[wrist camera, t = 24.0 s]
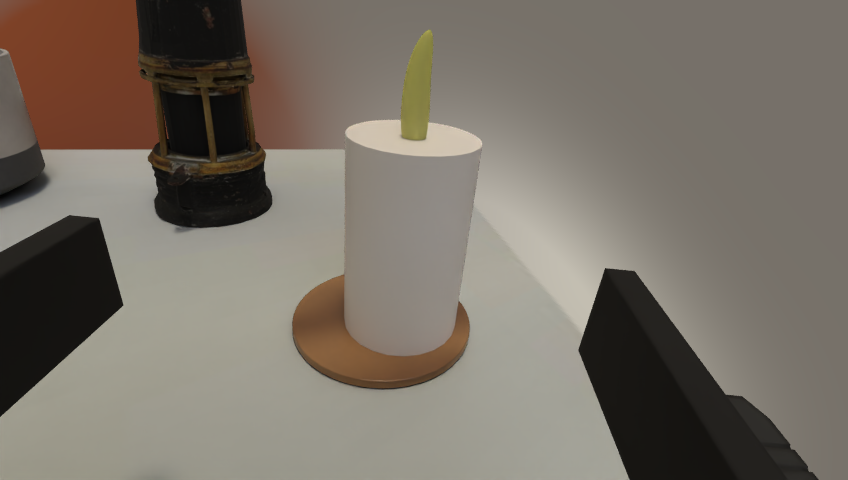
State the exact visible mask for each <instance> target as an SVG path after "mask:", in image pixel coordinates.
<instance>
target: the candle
mask: <svg viewBox="0 0 848 480" xmlns="http://www.w3.org/2000/svg"><path fill="white" fill-rule="evenodd" d="M432 55H433V36H432V32H431V30H427V31H426V32H425V33H424V34H423V35H422V36H421V37H420V39H419V40H418V42H417V44H416V46H415V48H414V50H413V53H412V55H411V58H410V61H409V64H408V68H407V71H406V76H405V80H404V88H403V95H402V106H401V120H377V121H367V122H362V123H358V124H355V125H352V126H350V127H348V129H347V130H346V131H345V272H344V319H345V326H346V329H347V330H348V332H349V334H350V336H351V337H352V338H353V339H355V340H356V341H357V342H358V343H359V344H360V345H362V346H364V347H366V348H368V349H370V350H372V351H375V352H378V353H382V354H386V355H392V356H413V355H421V354H424V353H427V352H430V351H433V350H435V349H437V348H438V347H440V346H442V345H443V344H445V342H446V341H447V340H448V339H449V338H450V337H451V336H452V333H453V330H454V327H455V321H456V314H457V308H458V301H459V295H460V288H461V282H462V275H463V268H464V262H465V255H466V249H467V242H468V236H469V229H470V222H471V216H472V209H473V203H474V195H475V189H476V183H477V176H478V170H479V163H480V157H481V150H482V142H481V140H480V139H479V138H478V137H476V136H475V135H473V134H471V133H469V132H467V131H464V130H461V129H458V128H455V127H450V126H446V125H441V124H436V123H429V110H430V87H431V69H432Z"/></svg>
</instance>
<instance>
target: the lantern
mask: <svg viewBox="0 0 848 480" xmlns="http://www.w3.org/2000/svg"><path fill="white" fill-rule="evenodd" d="M136 6H137V16H138V17H137V18H138V29H139V55H138V64H139V66H140V67H141V68H142V69H141V70H140V71H139V72H140V76H141V77H142V78H143V79H146V80H148V81H151V82H152V87H153V94H154V102H155V110H156V118H157V126H158V134H159V141H160V142H159V143H157V144H156V145H155V147H154V148H153V150H152V152H151V153H150V155H149V156H148V161H149V162H150V163H151V164H152V168H153V170H154V171H155V173H154V176H155V177H156V185H157V187H158V195H157V196H156V198H155V201H154V202H155V209H156V212H157V214H158V215H159V217H160V218H162V219H163V220H166V221H168V222H170V223H173V224H175V225H181V226H191V227H215V226H225V225H231V224H236V223H241V222H244V221H247V220H250V219H253V218H256V217H258V216H260V215H261V214H263V213H264V212H266V211H267V210H268V209H269V208H270V206H271V205H272V195H271V192H270V190H269V188H268V187H267V186H266V180H265V172H264V160H265V157H266V153H265V151H264V150H263V149H262V148H261V146H260V145H259V144H258V143H257V142H255V131H254V124H253V117H252V110H251V103H250V96H249V89H248V84H251V83H253V82H254V76H253V75H252V65H251V63H250V58H249V57H248V55H247V47H246V39H245V30H244V22H243V14H242V6H241V0H136ZM146 73H147V74H148V75H147V74H146ZM244 105H245V106H244ZM163 110H164V112H163ZM245 112H246V113H245ZM164 116H165V120H164ZM246 118H247V120H246ZM165 121H166V126H167V132H168V137H169V139H167V135H166V127H165ZM247 125H248V128H247ZM248 133H249V135H248Z"/></svg>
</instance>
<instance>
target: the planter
mask: <svg viewBox="0 0 848 480" xmlns="http://www.w3.org/2000/svg"><path fill="white" fill-rule="evenodd" d="M44 167H45V163H44V160H43V157H42V154H41V150H40V147H39V144H38V141H37V138H36V135H35V132H34V129H33V126H32V123H31V120H30V117H29V113H28V110H27V107H26V104H25V101H24V98H23V95H22V92H21V89H20V85H19V83H18V79H17V76H16V73H15V70H14V67H13V64H12V61H11V58H10V55H9V52H8V51H6V50H4V49H0V195H2V194H4V193H6V192H8V191H10V190H12V189H14V188H16V187H18V186H20V185H22V184H24V183H26V182H28V181H30V180H31V179H33V178H35V177H36V176H37V175H39V174H40V173H41V172H42V171H43V169H44Z"/></svg>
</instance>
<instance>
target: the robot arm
mask: <svg viewBox="0 0 848 480" xmlns="http://www.w3.org/2000/svg"><path fill="white" fill-rule="evenodd" d="M122 306H123V302H122V298H121V295H120V291H119V287H118V284H117V280H116V277H115V273H114V270H113V266H112V263H111V259H110V256H109V252H108V248H107V245H106V241H105V238H104V234H103V231H102V227H101V224H100V220H99V218H91V217H81V216H71V215H69V216H67V217H65V218H63V219H62V220H60V221H58V222H56V223H54V224H52V225H50V226H49V227H47V228H45V229H43V230H41V231H39V232H37V233H35V234H34V235H32V236H30V237H28V238H26V239H24V240H22V241H20V242H19V243H17V244H15V245H13V246H11V247H9V248H7V249H5V250H4V251H2V252H0V417H1V416H2V415H3V414H4V413H5V412H6V411H7V410H8V409H9V408H11V407H12V406H13V405H14V404H15V403H16V402H17V401H18V400H19V399H20V398H22V397H23V396H24V395H25V394H26V393H27V392H28V391H29V390H30V389H32V388H33V387H34V386H35V385H36V384H37V383H38V382H39V381H40V380H41V379H43V378H44V377H45V376H46V375H47V374H48V373H49V372H50V371H51V370H53V369H54V368H55V367H56V366H57V365H58V364H59V363H60V362H61V361H62V360H64V359H65V358H66V357H67V356H68V355H69V354H70V353H71V352H72V351H74V350H75V349H76V348H77V347H78V346H79V345H80V344H81V343H82V342H83V341H85V340H86V339H87V338H88V337H89V336H90V335H91V334H92V333H93V332H95V331H96V330H97V329H98V328H99V327H100V326H101V325H102V324H103V323H105V322H106V321H107V320H108V319H109V318H110V317H111V316H112V315H113V314H114V313H116V312H117V311H118V310H119V309H120V308H121V307H122ZM579 353H580V355H581V358H582V361H583V363H584V366H585V368H586V371H587V373H588V376H589V378H590V381H591V383H592V386H593V388H594V391H595V393H596V396H597V398H598V401H599V403H600V406H601V409H602V411H603V414H604V416H605V419H606V421H607V424H608V426H609V429H610V431H611V434H612V436H613V439H614V441H615V444H616V446H617V449H618V451H619V454H620V457H621V459H622V462H623V464H624V467H625V469H626V472H627V474H628V477H629V479H630V480H818V479H817V477H816V476H815V475H814V474H813V472H809V471H808V466H807V465H806V464H805V463H804V461H803V460H802V459H801V457H800V456H799V455H798V454H797V452H796V451H795V450H791V448H790V444H789V442H788V441H787V440H786V439H785V438H784V436H783V435H782V434H781V432H780V431H779V430H778V429H777V428H776V426H775V425H774V424H773V422H772V421H771V420H770V419H769V418H768V417H767V416H766V415H764V414H763V413H762V412H761V411H759V410H758V409H757V408H755V407H754V406H753V405H752V404H751V403H750V402H748V401H747V400H746V399H745V398H743V397H742V396H733V395H725V393H724V392H723V391H722V389H721V388H720V386H719V385H718V384H717V382H716V381H715V380H714V378H713V377H712V376H711V374H710V373H709V371H707V369H706V367H705V366H704V365H703V363H702V362H701V361H700V359H699V358H698V357H697V355H696V354H695V352H694V351H693V350H692V348H691V347H690V346H689V344H688V343H687V342H686V340H685V339H684V338H683V336H682V335H681V333H680V332H679V331H678V329H677V328H676V327H675V325H674V324H673V323H672V322H671V320H670V319H669V317H668V316H667V315H666V313H665V312H664V311H663V309H662V308H661V306H660V305H659V304H658V302H657V301H656V300H655V298H654V297H653V295H652V294H651V293H650V291H649V290H648V289H647V287H646V286H645V285H644V283H643V282H642V281H641V279H640V278H639V276H638V275H637V274H636V272H635V271H627V270H617V269H606V268H605V270H604V274H603V277H602V280H601V283H600V286H599V289H598V292H597V295H596V298H595V301H594V304H593V307H592V310H591V313H590V316H589V319H588V323H587V325H586V328H585V331H584V334H583V337H582V341H581V344H580V347H579Z"/></svg>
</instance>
